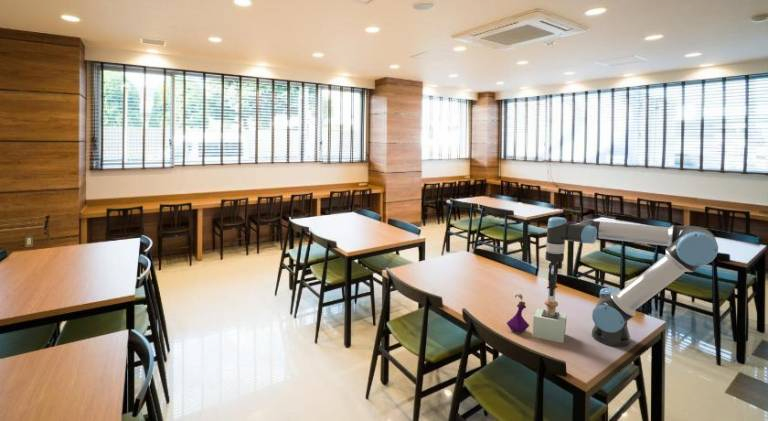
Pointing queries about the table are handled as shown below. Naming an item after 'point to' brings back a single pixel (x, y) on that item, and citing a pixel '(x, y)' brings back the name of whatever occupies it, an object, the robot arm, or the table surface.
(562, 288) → the table surface
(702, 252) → the robot arm
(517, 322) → the perfume bottle
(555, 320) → the socket block
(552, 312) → the peg
